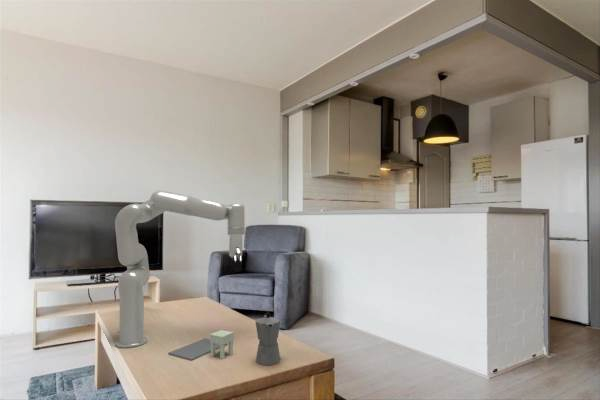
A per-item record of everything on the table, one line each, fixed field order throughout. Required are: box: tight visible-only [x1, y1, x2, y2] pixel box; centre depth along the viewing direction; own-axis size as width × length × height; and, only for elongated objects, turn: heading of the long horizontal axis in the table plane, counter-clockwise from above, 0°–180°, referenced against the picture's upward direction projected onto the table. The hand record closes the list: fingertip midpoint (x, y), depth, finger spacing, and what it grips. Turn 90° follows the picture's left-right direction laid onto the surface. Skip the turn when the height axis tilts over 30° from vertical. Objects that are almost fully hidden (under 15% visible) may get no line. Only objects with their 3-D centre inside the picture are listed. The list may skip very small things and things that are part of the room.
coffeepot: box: [255, 312, 281, 367], centre depth 142 cm, size 15×9×18 cm, turn 13°
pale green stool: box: [209, 329, 235, 360], centre depth 147 cm, size 6×6×8 cm
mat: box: [167, 337, 228, 362], centre depth 153 cm, size 13×20×1 cm, turn 149°
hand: (236, 269), depth 168 cm, fingers open, 9 cm apart
